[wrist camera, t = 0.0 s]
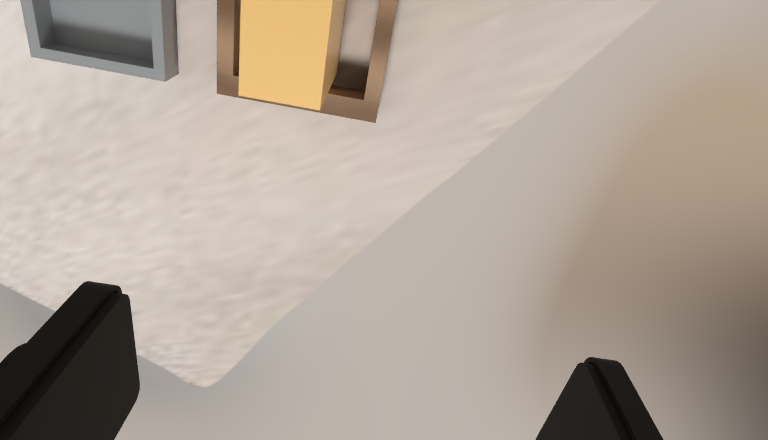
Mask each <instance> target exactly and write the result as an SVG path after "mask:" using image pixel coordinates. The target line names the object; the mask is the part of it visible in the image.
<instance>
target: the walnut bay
mask: <svg viewBox="0 0 768 440" xmlns="http://www.w3.org/2000/svg"><path fill="white" fill-rule="evenodd" d="M397 1H398V0H380V4H379V10H378V16H377V22H376V28H375V35H374V41H373V47H372V53H371V59H370V65H369V71H368V78H367V84H366V90H365V91H359V90H354V89H349V88H343V87H338V86H333V85H331V87H330V90H329V92H328V94H327V96H326V98H325V100H324V103H323V105H322V107H321V109H320V110H314V109H309V108H303V107H298V106H293V105H287V104H282V103H276V102H271V101H265V100H260V99H255V98H249V97H244V96H238V92H239V53H240V14H241V0H217V94H222V95H227V96H233V97H238V98H243V99H249V100H254V101H260V102H265V103H271V104H276V105H282V106H287V107H292V108H298V109H303V110H309V111H314V112H320V113H325V114H330V115H336V116H341V117H347V118H352V119H358V120H363V121H368V122H374V123H376V118H377V112H378V107H379V101H380V95H381V90H382V84H383V79H384V73H385V68H386V62H387V57H388V51H389V46H390V40H391V34H392V29H393V23H394V18H395V12H396V7H397Z"/></svg>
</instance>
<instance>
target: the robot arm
mask: <svg viewBox="0 0 768 440" xmlns="http://www.w3.org/2000/svg"><path fill="white" fill-rule="evenodd" d="M139 389H140V382H139V374H138V365H137V357H136V348H135V340H134V331H133V323H132V315H131V306H130V299H129V296H128V295H126V294H122V291H121V288H120V287H119V286H116V285H110V284H103V283H97V282H90V281H87V282H84V283H83V284H82V285H81V286H79V288H78V289H77V290H76V291H75V292H74V293H73V294H72V295H71V296H70V297H69V298H68V299H67V300H66V301H65V302H64V304H63V305H62V306H61V307H60V308H59V309H58V310H57V311H56V312H55V313H54V314H53V315H52V317H51V318H50V319H49V320H48V321H47V322H46V323H45V324H44V325H43V326H42V327H41V328H40V329H39V330H38V331H37V332H36V333H35V335H34V336H33V337H32V338H31V339H30V340H29V341H28V342H27V343H25V344H22V345H20V346H18V347H17V348H15V349H14V350H13V351H12V352H11V353H9V354H8V355H7V356H6V357H5V358H4V360H3V361H2V362H1V363H0V440H114V439H115V437H116V435H117V434H118V432H119V430H120V428H121V427H122V425H123V423H124V421H125V419H126V418H127V416H128V414H129V413H130V411H131V409H132V407H133V405H134V404H135V402H136V400H137V397H138V393H139ZM536 440H663V438H662V436H661V435H660V433H659V431H658V429H657V427H656V426H655V424H654V422H653V420H652V418H651V417H650V415H649V413H648V411H647V409H646V408H645V406H644V404H643V402H642V400H641V398H640V397H639V395H638V393H637V391H636V389H635V387H634V386H633V384H632V382H631V380H630V379H629V377H628V375H627V373H626V371H625V369H624V367H623V366H622V365H621V363H619V362H618V361H614V360H607V359H600V358H594V357H589V358H587V359H586V360H585V362H584V363H579V364H578V365H577V366H576V368H575V370H574V371H573V373H572V375H571V377H570V379H569V380H568V382H567V384H566V386H565V387H564V389H563V391H562V393H561V395H560V396H559V398H558V400H557V402H556V404H555V405H554V407H553V409H552V411H551V413H550V414H549V416H548V418H547V420H546V422H545V424H544V425H543V427H542V429H541V430H540V432H539V434H538V436H537V438H536Z"/></svg>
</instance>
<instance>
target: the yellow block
mask: <svg viewBox="0 0 768 440" xmlns="http://www.w3.org/2000/svg"><path fill="white" fill-rule="evenodd" d="M345 7H346V0H241V14H240V53H239V92H238V96H244V97H249V98H255V99H260V100H265V101H271V102H276V103H282V104H287V105H293V106H298V107H303V108H309V109H314V110H320V109H321V107H322V105H323V103H324V100H325V98H326V96H327V94H328V92H329V90H330V87H331V85H332V83H333V81H334V79H335V76H336V74H337V69H338V61H339V53H340V45H341V38H342V30H343V22H344V15H345Z"/></svg>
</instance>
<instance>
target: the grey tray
mask: <svg viewBox="0 0 768 440" xmlns="http://www.w3.org/2000/svg"><path fill="white" fill-rule="evenodd" d="M20 1H21V6H22V11H23V16H24V22H25V27H26V32H27V37H28V42H29V48H30V53H31V57H35V58H41V59H46V60H51V61H57V62H62V63H68V64H73V65H78V66H84V67H89V68H95V69H100V70H106V71H111V72H116V73H122V74H127V75H133V76H138V77H143V78H149V79H154V80H160V81H167V80H169V79H170V78H172V77H174V76H176V75H177V74H178V52H177V26H176V0H20Z"/></svg>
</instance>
